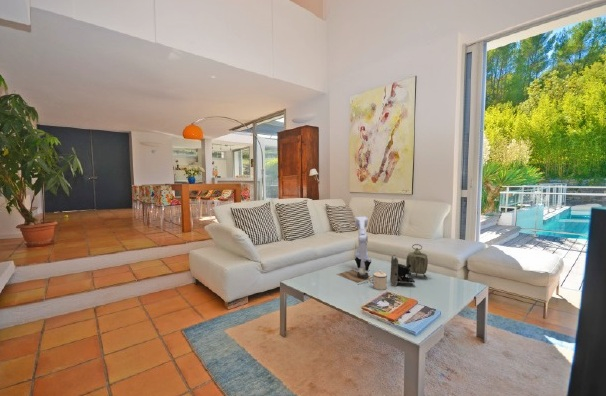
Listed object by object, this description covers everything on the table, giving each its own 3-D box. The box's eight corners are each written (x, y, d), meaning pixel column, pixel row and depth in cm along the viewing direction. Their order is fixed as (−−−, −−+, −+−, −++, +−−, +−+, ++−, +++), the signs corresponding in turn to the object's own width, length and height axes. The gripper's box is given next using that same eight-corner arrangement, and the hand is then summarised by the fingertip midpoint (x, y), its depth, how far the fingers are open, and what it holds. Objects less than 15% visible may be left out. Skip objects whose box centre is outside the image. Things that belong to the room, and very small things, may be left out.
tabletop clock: (427, 276, 208) (428, 244, 207) (426, 280, 200) (427, 246, 199) (407, 273, 215) (407, 242, 213) (405, 277, 207) (406, 244, 205)
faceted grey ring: (362, 274, 210) (362, 271, 210) (370, 277, 204) (370, 273, 204) (355, 276, 206) (355, 273, 206) (363, 279, 199) (363, 276, 199)
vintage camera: (415, 288, 187) (416, 259, 186) (391, 286, 190) (392, 257, 189) (412, 283, 197) (413, 256, 196) (389, 281, 200) (391, 254, 199)
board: (352, 271, 221) (352, 269, 221) (374, 279, 204) (374, 277, 204) (336, 276, 211) (336, 274, 211) (357, 284, 193) (357, 282, 193)
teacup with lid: (386, 285, 192) (386, 269, 191) (387, 290, 183) (387, 273, 182) (368, 284, 195) (368, 267, 194) (368, 289, 186) (368, 272, 185)
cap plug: (362, 275, 208) (362, 266, 208) (367, 277, 204) (367, 267, 204) (358, 276, 205) (358, 267, 205) (362, 278, 202) (362, 269, 201)
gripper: (351, 250, 207) (351, 267, 208) (366, 254, 195) (366, 272, 196) (358, 248, 211) (358, 265, 212) (373, 252, 200) (373, 270, 200)
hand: (362, 269), depth 205 cm, fingers open, 7 cm apart
